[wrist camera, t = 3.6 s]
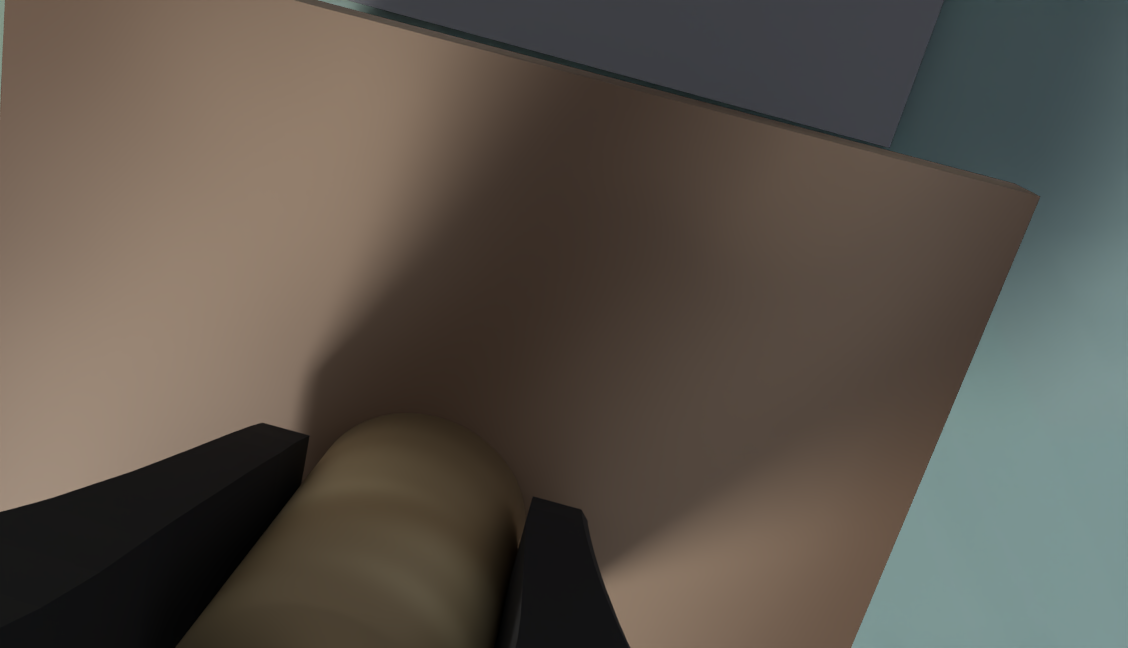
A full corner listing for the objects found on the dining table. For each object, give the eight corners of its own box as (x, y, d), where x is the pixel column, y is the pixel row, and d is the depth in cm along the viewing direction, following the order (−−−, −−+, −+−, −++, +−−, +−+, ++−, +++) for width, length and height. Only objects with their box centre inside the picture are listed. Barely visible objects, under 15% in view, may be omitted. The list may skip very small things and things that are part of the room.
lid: (998, 174, 12) (1257, 306, 6) (718, 871, 15) (742, 1300, 10) (82, -66, 12) (-365, -123, 7) (31, 678, 16) (-281, 1003, 10)
